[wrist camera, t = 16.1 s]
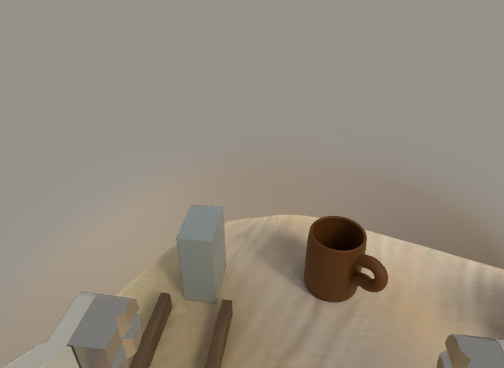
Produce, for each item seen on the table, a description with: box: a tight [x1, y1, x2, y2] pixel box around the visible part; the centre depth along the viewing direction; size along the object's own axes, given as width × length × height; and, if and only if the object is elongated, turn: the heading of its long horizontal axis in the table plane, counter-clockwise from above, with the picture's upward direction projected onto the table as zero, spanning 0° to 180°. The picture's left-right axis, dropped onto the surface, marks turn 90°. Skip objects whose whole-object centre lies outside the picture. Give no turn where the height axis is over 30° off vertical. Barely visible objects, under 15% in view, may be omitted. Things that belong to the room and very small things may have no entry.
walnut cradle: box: [129, 293, 232, 368], centre depth 46 cm, size 9×15×2 cm, turn 172°
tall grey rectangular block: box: [176, 205, 226, 303], centre depth 54 cm, size 4×7×11 cm, turn 172°
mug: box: [304, 216, 388, 302], centre depth 53 cm, size 12×8×9 cm, turn 36°
